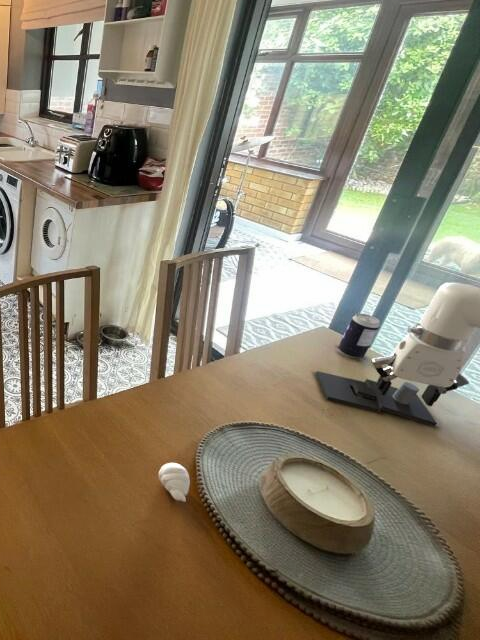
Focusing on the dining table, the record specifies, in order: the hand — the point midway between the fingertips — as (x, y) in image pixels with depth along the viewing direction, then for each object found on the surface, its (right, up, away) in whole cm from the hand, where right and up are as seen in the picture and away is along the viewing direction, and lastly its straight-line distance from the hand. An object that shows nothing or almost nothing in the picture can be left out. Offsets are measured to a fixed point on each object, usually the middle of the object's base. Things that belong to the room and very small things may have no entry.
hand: (402, 396), depth 98 cm
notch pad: (-9, -1, +5) cm, 10 cm away
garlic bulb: (-64, -13, -18) cm, 68 cm away
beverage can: (+4, +6, +18) cm, 20 cm away
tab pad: (-2, -2, +2) cm, 3 cm away
